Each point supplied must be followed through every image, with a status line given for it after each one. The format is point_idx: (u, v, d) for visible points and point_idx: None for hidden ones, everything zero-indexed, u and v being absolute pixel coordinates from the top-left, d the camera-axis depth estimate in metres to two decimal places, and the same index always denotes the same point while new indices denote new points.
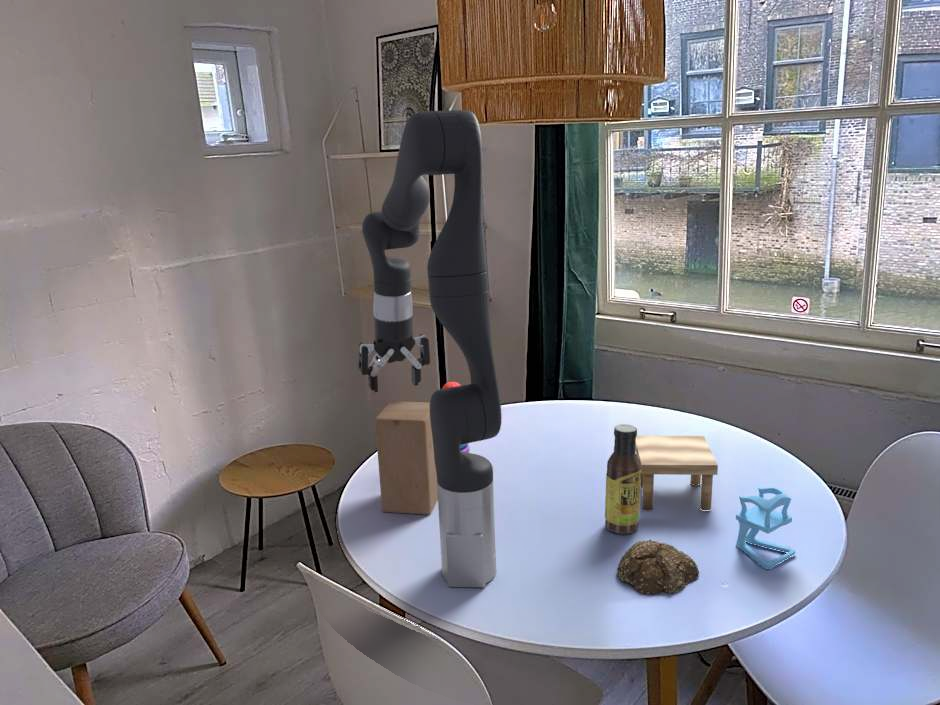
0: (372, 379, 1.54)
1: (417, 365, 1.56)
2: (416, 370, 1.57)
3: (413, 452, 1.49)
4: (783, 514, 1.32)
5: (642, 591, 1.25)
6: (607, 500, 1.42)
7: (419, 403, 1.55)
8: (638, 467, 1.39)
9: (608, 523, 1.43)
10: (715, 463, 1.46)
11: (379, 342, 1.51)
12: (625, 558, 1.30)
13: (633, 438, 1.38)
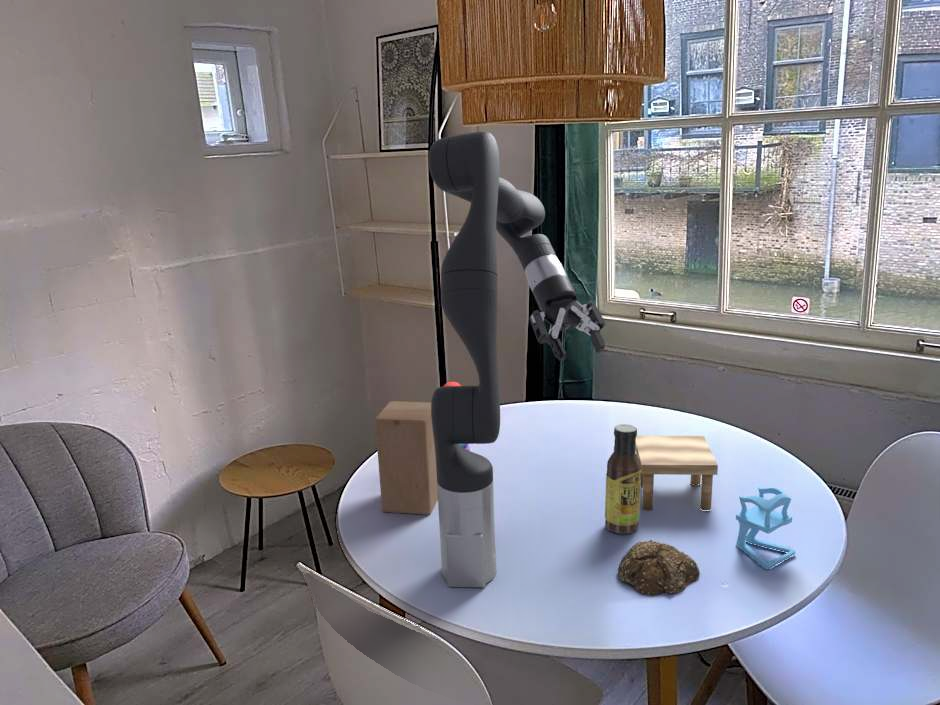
0: (556, 343, 1.46)
1: (594, 326, 1.50)
2: (596, 332, 1.49)
3: (413, 452, 1.49)
4: (783, 514, 1.32)
5: (643, 591, 1.24)
6: (607, 500, 1.42)
7: (419, 403, 1.55)
8: (638, 467, 1.39)
9: (608, 523, 1.43)
10: (715, 463, 1.46)
11: (548, 306, 1.49)
12: (626, 558, 1.30)
13: (633, 438, 1.38)
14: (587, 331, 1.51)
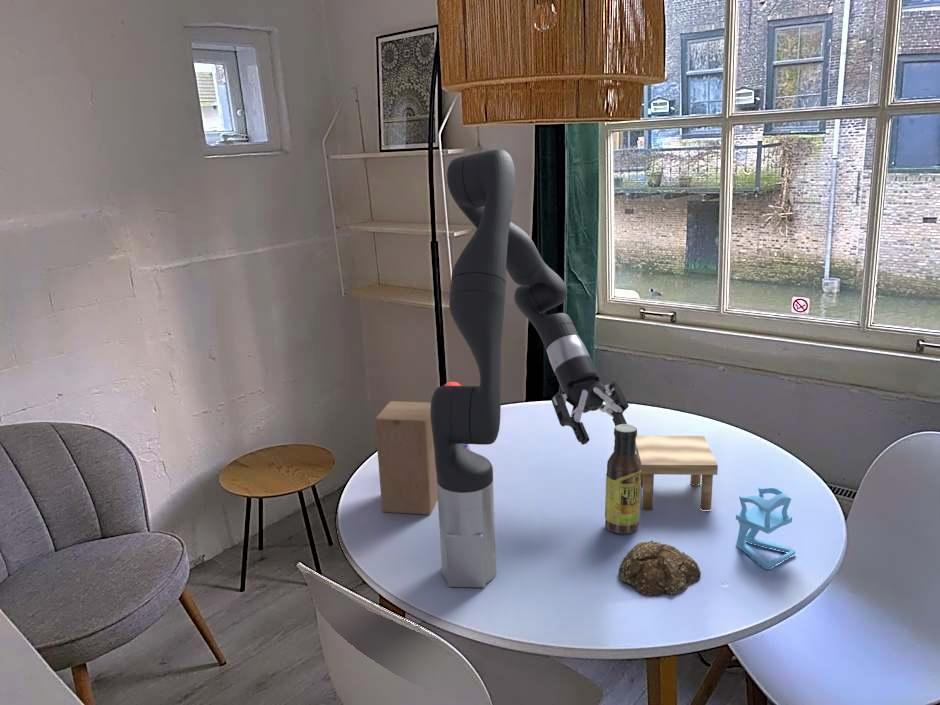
0: (578, 427, 1.44)
1: (617, 408, 1.48)
2: (618, 414, 1.47)
3: (413, 452, 1.49)
4: (783, 514, 1.32)
5: (644, 592, 1.24)
6: (607, 500, 1.42)
7: (419, 403, 1.55)
8: (638, 467, 1.39)
9: (608, 523, 1.43)
10: (715, 463, 1.46)
11: (570, 388, 1.47)
12: (627, 559, 1.29)
13: (633, 438, 1.38)
14: (610, 412, 1.49)
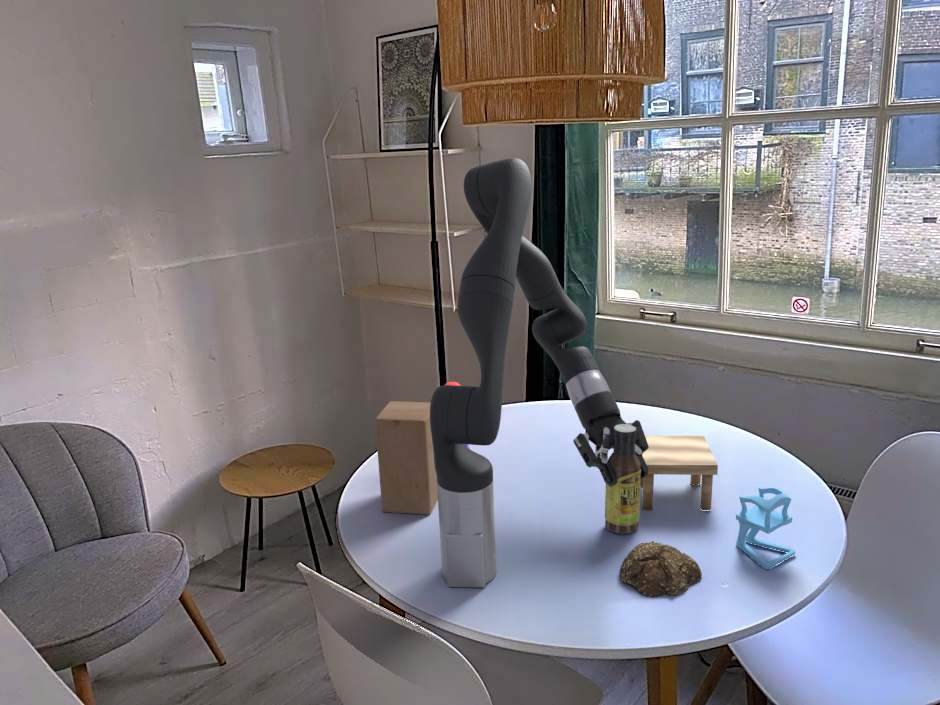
0: (605, 468, 1.39)
1: (637, 450, 1.43)
2: (638, 456, 1.42)
3: (413, 452, 1.49)
4: (783, 514, 1.32)
5: (645, 593, 1.24)
6: (607, 500, 1.42)
7: (419, 403, 1.55)
8: (638, 467, 1.39)
9: (608, 523, 1.43)
10: (715, 463, 1.46)
11: (591, 425, 1.43)
12: (627, 560, 1.29)
13: (632, 438, 1.38)
14: None
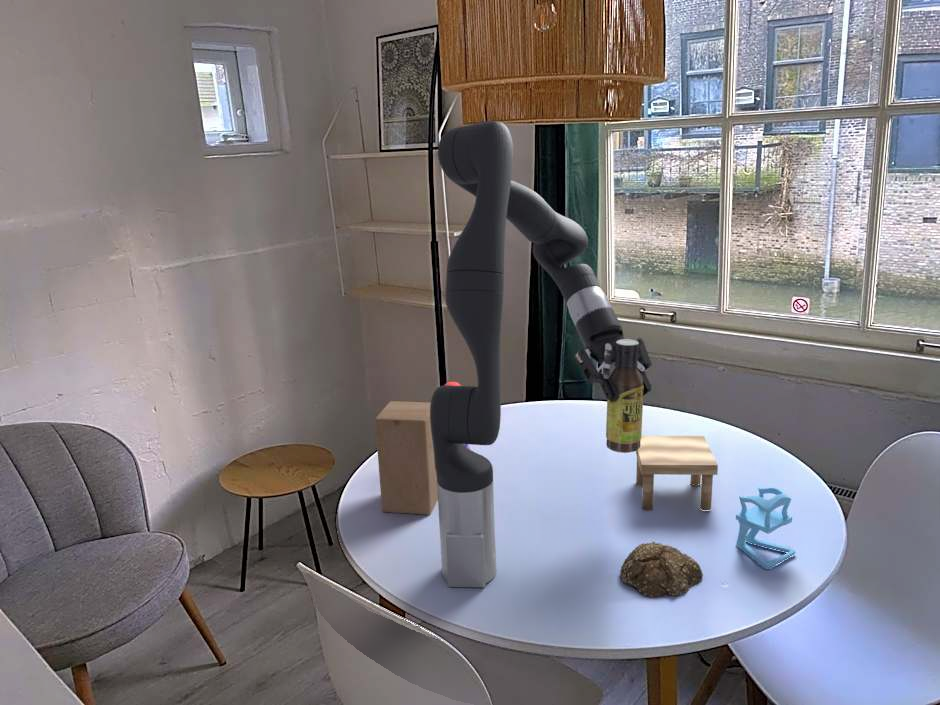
0: (607, 384, 1.35)
1: (640, 366, 1.39)
2: (641, 373, 1.38)
3: (413, 452, 1.49)
4: (783, 514, 1.32)
5: (645, 594, 1.24)
6: (608, 418, 1.38)
7: (419, 403, 1.55)
8: (640, 382, 1.35)
9: (609, 442, 1.39)
10: (715, 463, 1.46)
11: (592, 341, 1.39)
12: (628, 560, 1.29)
13: (635, 352, 1.34)
14: None
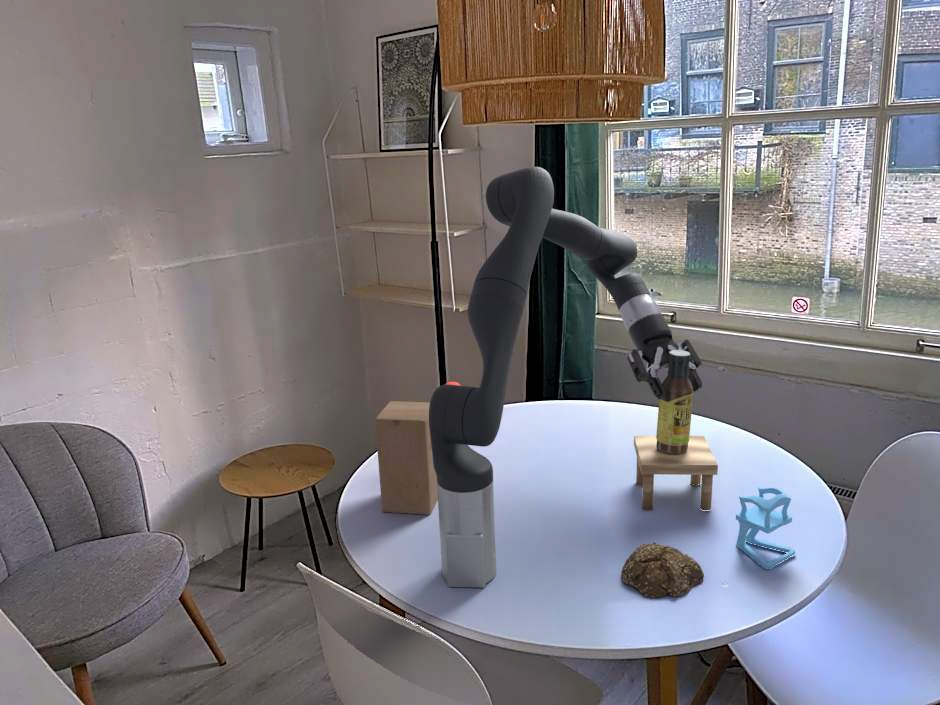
0: (655, 382, 1.47)
1: (691, 365, 1.51)
2: (692, 371, 1.51)
3: (413, 452, 1.49)
4: (783, 514, 1.32)
5: (647, 594, 1.24)
6: (660, 422, 1.51)
7: (419, 403, 1.55)
8: (691, 390, 1.48)
9: (660, 444, 1.52)
10: (715, 463, 1.46)
11: (645, 345, 1.51)
12: (629, 561, 1.29)
13: (687, 362, 1.46)
14: None
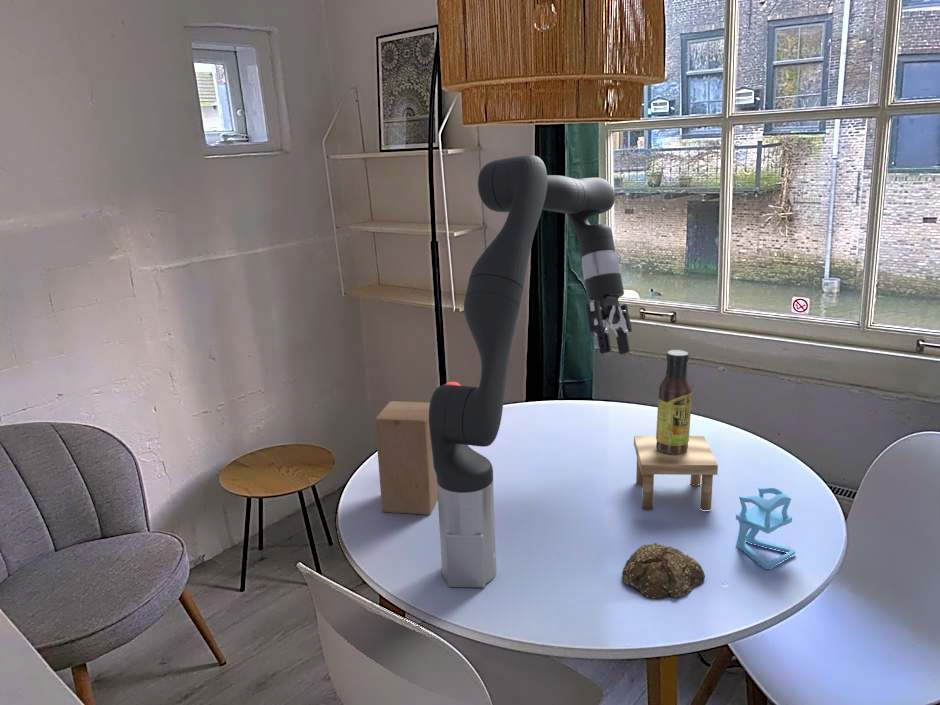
0: (605, 337, 1.55)
1: (626, 330, 1.62)
2: (626, 335, 1.62)
3: (413, 452, 1.49)
4: (783, 514, 1.32)
5: (647, 595, 1.23)
6: (659, 422, 1.51)
7: (419, 403, 1.55)
8: (689, 390, 1.48)
9: (660, 444, 1.52)
10: (715, 463, 1.46)
11: (603, 299, 1.57)
12: (630, 562, 1.29)
13: (685, 362, 1.47)
14: (616, 331, 1.63)
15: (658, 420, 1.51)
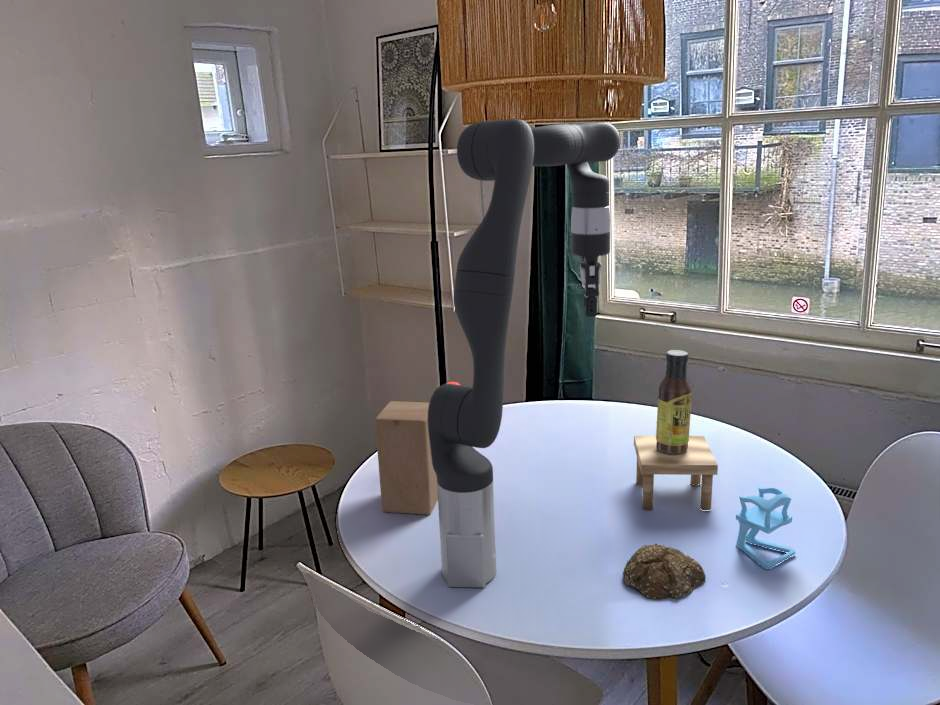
0: (595, 301, 1.50)
1: None
2: None
3: (413, 452, 1.49)
4: (783, 514, 1.32)
5: (648, 596, 1.23)
6: (659, 422, 1.51)
7: (419, 403, 1.55)
8: (689, 390, 1.48)
9: (660, 444, 1.52)
10: (715, 463, 1.46)
11: (596, 260, 1.50)
12: (631, 562, 1.28)
13: (685, 362, 1.47)
14: None
15: (658, 420, 1.51)
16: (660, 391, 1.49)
